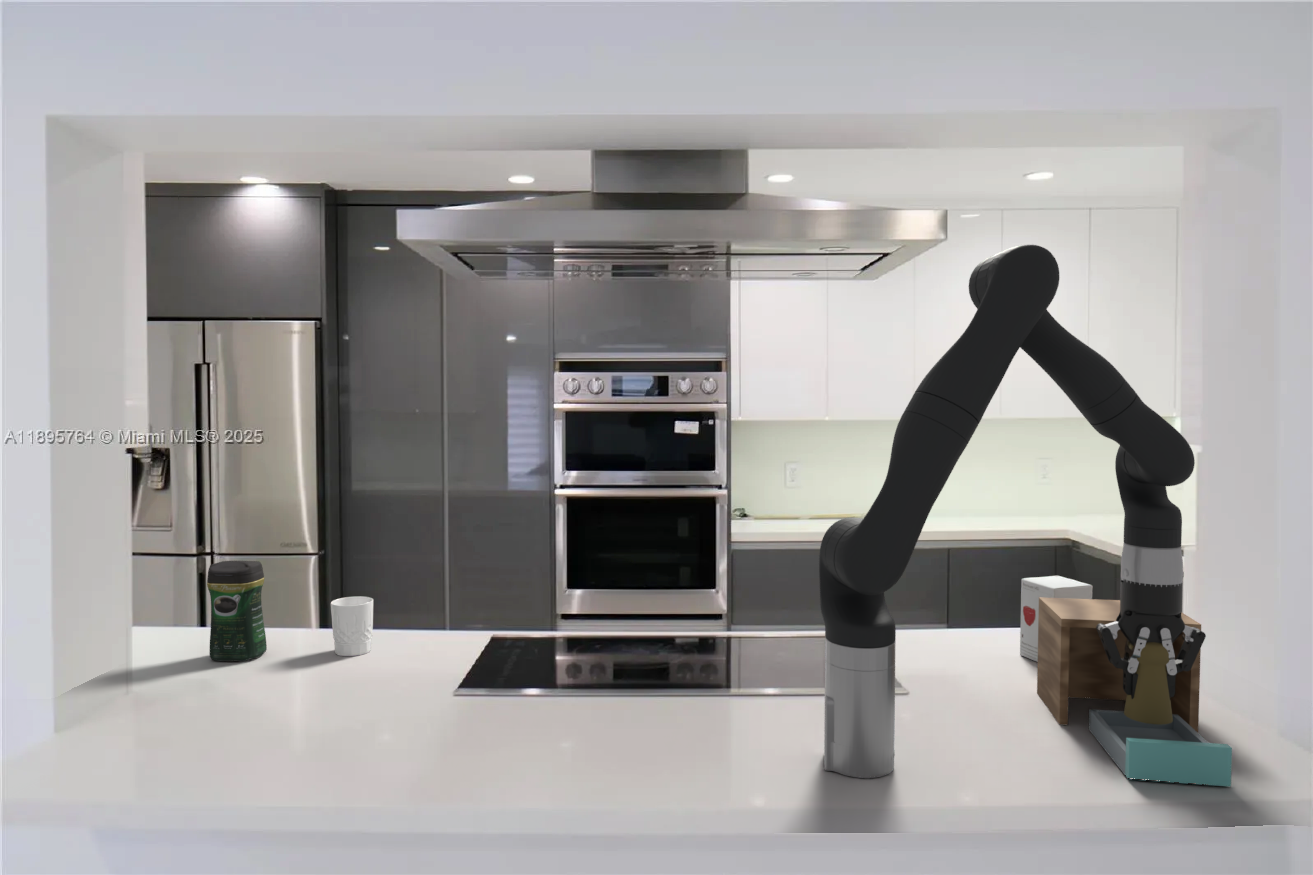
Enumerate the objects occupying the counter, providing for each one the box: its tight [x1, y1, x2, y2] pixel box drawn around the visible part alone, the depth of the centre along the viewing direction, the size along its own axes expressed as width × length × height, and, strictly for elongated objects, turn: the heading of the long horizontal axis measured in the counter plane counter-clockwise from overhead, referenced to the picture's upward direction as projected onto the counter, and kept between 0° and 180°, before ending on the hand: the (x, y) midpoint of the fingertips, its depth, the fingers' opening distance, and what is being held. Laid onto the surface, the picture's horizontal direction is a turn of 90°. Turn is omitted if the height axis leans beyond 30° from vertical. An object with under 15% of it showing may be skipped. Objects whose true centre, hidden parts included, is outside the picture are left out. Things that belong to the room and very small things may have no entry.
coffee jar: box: [206, 560, 267, 662], centre depth 168 cm, size 10×8×19 cm
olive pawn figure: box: [1123, 642, 1173, 725], centre depth 123 cm, size 6×6×11 cm
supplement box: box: [1019, 575, 1094, 663], centre depth 165 cm, size 9×9×15 cm
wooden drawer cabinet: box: [1036, 597, 1202, 733], centre depth 138 cm, size 19×14×16 cm
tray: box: [1088, 708, 1233, 788], centre depth 121 cm, size 12×17×5 cm
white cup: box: [330, 595, 374, 657], centre depth 172 cm, size 8×8×10 cm
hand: (1148, 697), depth 123 cm, fingers closed on olive pawn figure, 3 cm apart
